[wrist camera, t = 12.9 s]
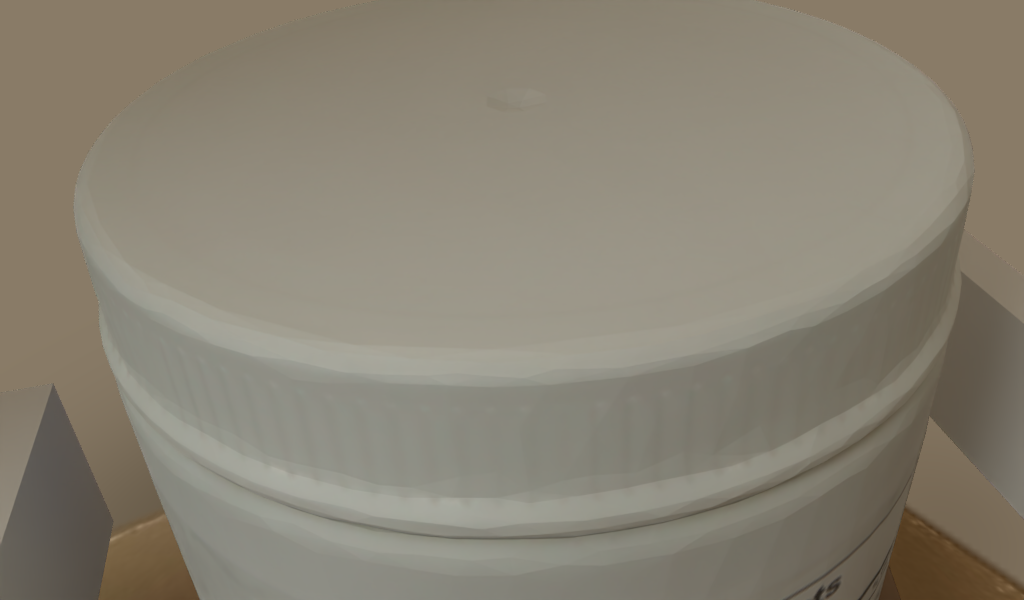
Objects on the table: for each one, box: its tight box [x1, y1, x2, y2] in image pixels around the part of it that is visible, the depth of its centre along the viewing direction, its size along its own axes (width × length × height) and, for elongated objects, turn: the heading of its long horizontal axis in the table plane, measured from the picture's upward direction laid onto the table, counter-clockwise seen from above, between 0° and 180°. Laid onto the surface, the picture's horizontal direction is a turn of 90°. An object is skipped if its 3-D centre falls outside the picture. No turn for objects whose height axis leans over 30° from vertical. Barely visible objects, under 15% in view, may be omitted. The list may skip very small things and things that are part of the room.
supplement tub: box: [74, 0, 974, 600], centre depth 14 cm, size 10×10×15 cm
